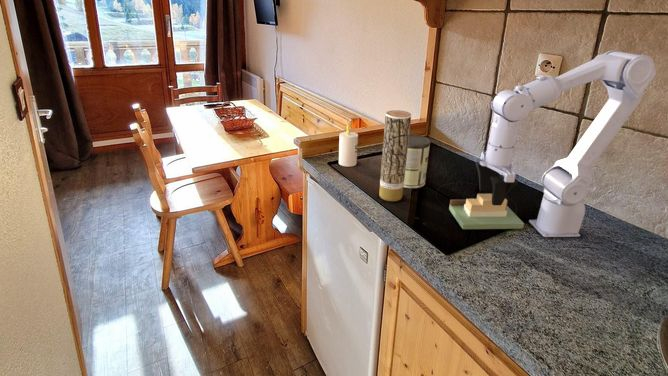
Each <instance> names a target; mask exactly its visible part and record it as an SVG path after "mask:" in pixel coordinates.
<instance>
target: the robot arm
mask: <svg viewBox="0 0 668 376" xmlns="http://www.w3.org/2000/svg"><path fill="white" fill-rule="evenodd" d="M655 67H656V66H655V62H654V60H653V58H652V57H651V56H649V55H646V54H637V53H630V52H624V51H620V50H617V49H611V50H609V51H606V52H605V53H601V54H597V55H596V56H595V57H594V58H593V59H591V60H589V61H587V62H585V63H583V64H581V65H579V66H576V67H574V68H572V69H571V70H568V71H566V72H564V73H562V74H560V75H558V76H556V77H553V76H551V75H544V74H540V75H538V76H536V77H535V80H533V81H530V82H528V83H526V84H522V85H520V84H519V85H516V86H515V87H514V89H513V90H512V89H504V90H501V91H500V92H498V93H497V94H496V95H495V96H494V98H493V100H491V102H490V108H491V110H492V112H493V117H492V123H491V128H490V133H489V138H488V142H487V147H486V151H481V152H480V153H481V154H480V160H479V161H476V162H475V167H476V170H477V175H478V188H479V191H480V192H489V191H490V189H491V188H492V189H491V191H492V193H491V194H492V205H502V203H503V201H504V200H505V199H507V196H508V194H509V193H510V192H511V191H512V190H513V188H514V187H516V186H517V185H518V180H517V179H516V176H517V173H515V171H514V168H513V165H512V160H513V157H514V152H515V148H516V143H517V138H518V134H519V129H520V125H521V121H522V120H523V119H525V118H526V117H527V115H528V114H529V113H530V112H531V111H533V110H535V109H537V108H541V107H543V106H546V105H547V104H550V103H552V102H555V101H557V100H558V99H559V97H560V95H561V93H563V92H566V91H569V90H571V89H574V88H577V87H580V86H584V85H586V84H588V83H591V82H595V81H597V80H600V81H601V83H602V84H603V86H604V87H605V88H606V90H607V95H608V99H607V101H606V103H604V105H603V107H602V108H601V109H600V111H599V112H598V114H597V115H596V116H595V118H594V120H593V121H592V122H591V124H590V125H589V126H588V128H587V129H586V130H585V132H584V134H583V135H582V136H581V137H580V139H579V140H578V142H577V143H576V144H575V146H574V147H573V148H572V150H571V152H570V153H569V154H568V156H567V157H564V158H562V159H559V160H556V161H555V163H554V164H553V165H552V166H551V167H550V168H548V169H547V170H545V171H544V172H543V174H542V176H541V179H540V183H541V185H542V187H543V191H542V192H543V196H542V200H541V203H540V206H539V207H540V208H539V211H538V214H537V218H536V219H529V220H528V223H529V224H530V225H531V226H532V227H533V228H534V229H535V230H536V231H537V232H538V233H539V234H540V235H541V236H542V237H544V238H579V237H581V234H580V229H581V226H582V225H583V224H582V223H583V220H584V218H585V215H586V205H585V203H584V201H583V200H584V199H585V198H586V196H587V195H588V190H589V188H590V186H591V184H592V183H593V176H592V173H591V169H592V167H593V166H594V164H595V163H596V162H597V160H598V159H599V158H600V156H601V155H602V154H603V153H604V151H605V150H606V148H607V147H608V146H609V145H610V143H611V142H612V141H613V139H614V138H615V137H616V135H617V134H618V132H619V131H620V130H621V128H622V127H623V126H624V124H625V123H626V122H627V120H628V119H629V118H630V116H631V115H632V113H633V112H634V111H635V110H636V108H637V107H638V106H639V105H640V103H641V101H642V99H643V96H644V93H645V91H646V88H647V87H648V86H649V84H650V83H651V82H652V81H653V79H654V78H655V76H656V75H657V73H656V72H657V71H656V68H655ZM497 173H498V174H499V176H496V174H497Z"/></svg>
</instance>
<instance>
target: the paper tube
mask: <svg viewBox="0 0 668 376" xmlns="http://www.w3.org/2000/svg"><path fill="white" fill-rule="evenodd" d="M411 122H412V113H411V112H409V111H405V110H397V109H396V110H395V109H394V110H388V111H386V112H385V118H384V130H383V143H382V152H381V153H382V155H381V166H380V167H381V168H380V179H379V190H378V191H379V192H378V194H379V198H380V199H382V200H383V201H385V202H398V201H401V200H402V198H403V195H404V187H403V186H404V178H405V169H406V160H407V151H408V141H409V135H410V131H411Z"/></svg>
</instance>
